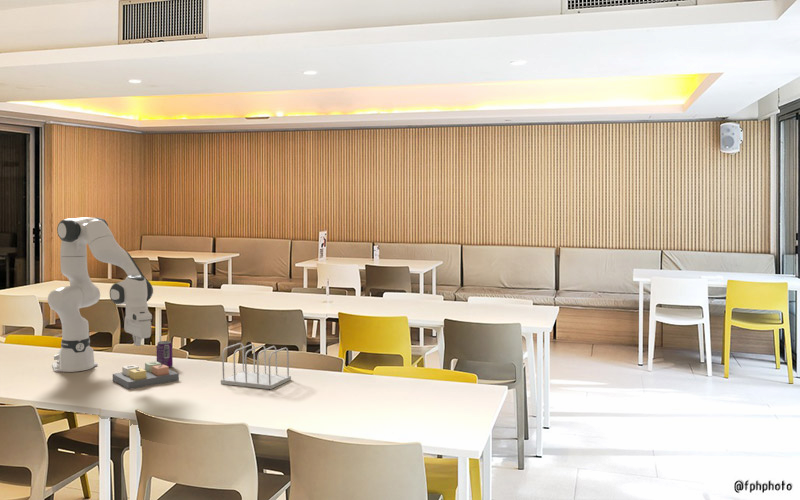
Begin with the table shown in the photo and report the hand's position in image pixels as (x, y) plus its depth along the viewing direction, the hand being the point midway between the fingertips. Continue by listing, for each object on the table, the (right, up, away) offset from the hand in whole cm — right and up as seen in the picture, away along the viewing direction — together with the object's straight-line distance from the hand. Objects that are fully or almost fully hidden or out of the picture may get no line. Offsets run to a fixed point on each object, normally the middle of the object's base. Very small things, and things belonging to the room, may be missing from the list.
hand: (137, 345), depth 289 cm
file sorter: (+49, -17, +7) cm, 53 cm away
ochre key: (0, -14, +1) cm, 14 cm away
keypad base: (+1, -16, +8) cm, 18 cm away
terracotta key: (+7, -14, +8) cm, 17 cm away
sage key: (+2, -13, +14) cm, 19 cm away
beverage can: (+1, -15, +31) cm, 34 cm away
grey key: (-6, -13, +7) cm, 16 cm away
